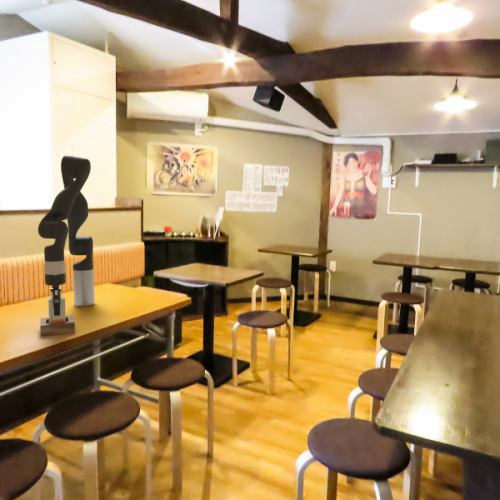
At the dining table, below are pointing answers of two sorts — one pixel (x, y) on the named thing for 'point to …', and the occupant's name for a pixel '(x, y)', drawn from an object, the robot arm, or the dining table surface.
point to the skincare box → (62, 311)
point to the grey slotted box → (57, 326)
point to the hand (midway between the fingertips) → (56, 312)
